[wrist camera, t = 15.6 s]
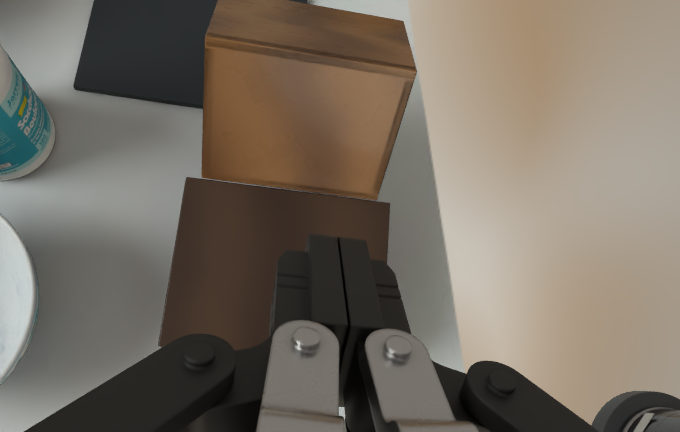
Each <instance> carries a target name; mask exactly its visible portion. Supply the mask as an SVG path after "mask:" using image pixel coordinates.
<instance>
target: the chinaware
mask: <svg viewBox="0 0 680 432" xmlns="http://www.w3.org/2000/svg"><path fill="white" fill-rule="evenodd" d="M38 311H39V284H38V278H37V273H36V269H35V266H34V263H33V260H32V258H31V255H30V253H29V251H28V249H27V247H26V245H25V243H24V242H23V240H22V238H21V237H20V235H19V234H18V233H17V231H16V230H15V229H14V227H13V226H12V225H11V224H10V223H9V222H8V221H7V220H6V219H5V218H4V217H3V216H2V215H1V214H0V385H1V384H2V383H3V382H4V381H5V380H6V378H7V377H8V376H9V375H10V374H11V372H12V371H13V370H14V368H15V367H16V366H17V364H18V363H19V361H20V359H21V358H22V356H23V354H24V353H25V351H26V349H27V347H28V345H29V343H30V340H31V338H32V335H33V332H34V329H35V326H36V322H37V317H38Z"/></svg>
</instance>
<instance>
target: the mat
mask: <svg viewBox="0 0 680 432" xmlns="http://www.w3.org/2000/svg"><path fill="white" fill-rule="evenodd" d="M288 1H294V2H300V3H305V4H306V2H307V0H288ZM217 2H218V0H94V3H93V8H92V12H91V16H90V20H89V24H88V28H87V32H86V36H85V40H84V45H83V49H82V53H81V57H80V61H79V65H78V69H77V73H76V77H75V82H74V88H75V90H81V91H88V92H94V93H101V94H108V95H115V96H122V97H129V98H135V99H142V100H149V101H156V102H163V103H169V104H176V105H183V106H190V107H197V108H203V99H204V58H205V35H206V33H207V30H208V27H209V24H210V21H211V18H212V16H213V13H214V10H215V7H216V4H217Z"/></svg>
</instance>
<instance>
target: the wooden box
mask: <svg viewBox="0 0 680 432" xmlns="http://www.w3.org/2000/svg"><path fill="white" fill-rule="evenodd" d="M416 73H417V70H416V66H415V63H414V59H413V55H412V52H411V48H410V44H409V40H408V37H407V33H406V29H405V25H404V22H403V21H400V20H394V19H389V18H383V17H378V16H372V15H367V14H361V13H355V12H350V11H344V10H339V9H333V8H327V7H322V6H316V5H311V4H305V3H300V2H294V1H288V0H218V2H217V4H216V7H215V10H214V13H213V16H212V18H211V21H210V24H209V27H208V30H207V33H206V35H205V58H204V99H203V139H202V178H208V179H216V180H223V181H231V182H239V183H247V184H255V185H262V186H270V187H278V188H286V189H294V190H301V191H309V192H317V193H325V194H332V195H340V196H348V197H356V198H364V199H371V200H377V198H378V194H379V191H380V188H381V185H382V181H383V178H384V175H385V172H386V169H387V165H388V162H389V159H390V156H391V153H392V149H393V146H394V143H395V140H396V137H397V133H398V130H399V127H400V124H401V121H402V117H403V114H404V111H405V108H406V105H407V101H408V98H409V95H410V92H411V89H412V85H413V82H414V79H415V76H416Z"/></svg>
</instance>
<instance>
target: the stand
mask: <svg viewBox="0 0 680 432" xmlns="http://www.w3.org/2000/svg"><path fill="white" fill-rule="evenodd" d="M389 214H390V203H385V202H377V201H370V200H362V199H354V198H346V197H338V196H330V195H323V194H315V193H307V192H299V191H291V190H284V189H276V188H268V187H260V186H252V185H244V184H237V183H229V182H221V181H213V180H205V179H198V178H190V177H186V181H185V187H184V193H183V199H182V205H181V211H180V217H179V223H178V229H177V235H176V241H175V247H174V253H173V259H172V265H171V271H170V277H169V283H168V289H167V295H166V301H165V307H164V313H163V319H162V325H161V331H160V337H159V343H158V346H160V347H164V346H166V345H167V344H169V343H171V342H172V341H174V340H176V339H178V338H180V337H182V336H185V335H190V334H210V335H214V336H217V337H220V338H222V339H224V340H225V341H227V342H228V343H229V344H230V345H231V346H232V347H233V349H234V351H235V350H242V349H247V348H251V347H254V346H257V345H259V344H261V343H262V342H264V341H265V340H266V339H268V338H269V325H270V310H271V302H272V296H273V289H274V282H275V276H276V269H277V263H278V259H279V258H280V257H281V256H282V255H283V253H284V252H285V251H286V250H295V251H303V252H305V247H306V241H307V237H308V234H309V233H313V234H321V235H329V236H336V237H337V238H338V237H347V238H355V239H363V240H366V241H367V246H368V250H369V255H370V259H373V260H381V261H384V262H385V263H386V264H387V254H388V234H389Z"/></svg>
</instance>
